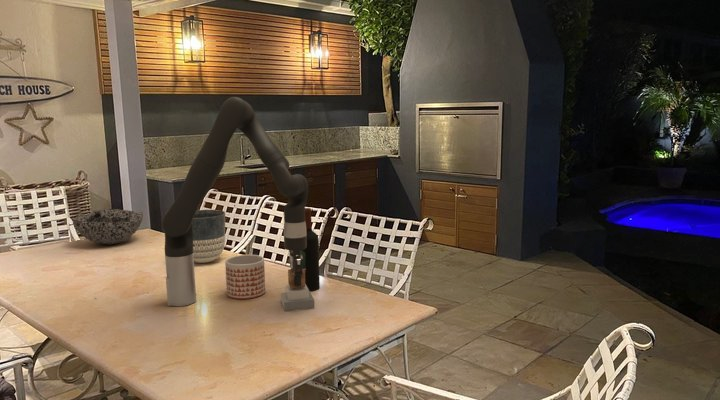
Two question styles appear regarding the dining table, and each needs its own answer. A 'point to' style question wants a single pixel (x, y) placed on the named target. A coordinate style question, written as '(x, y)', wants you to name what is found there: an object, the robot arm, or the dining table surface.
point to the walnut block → (291, 278)
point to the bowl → (108, 225)
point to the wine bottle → (311, 255)
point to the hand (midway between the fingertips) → (296, 283)
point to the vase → (245, 276)
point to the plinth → (297, 303)
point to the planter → (208, 235)
